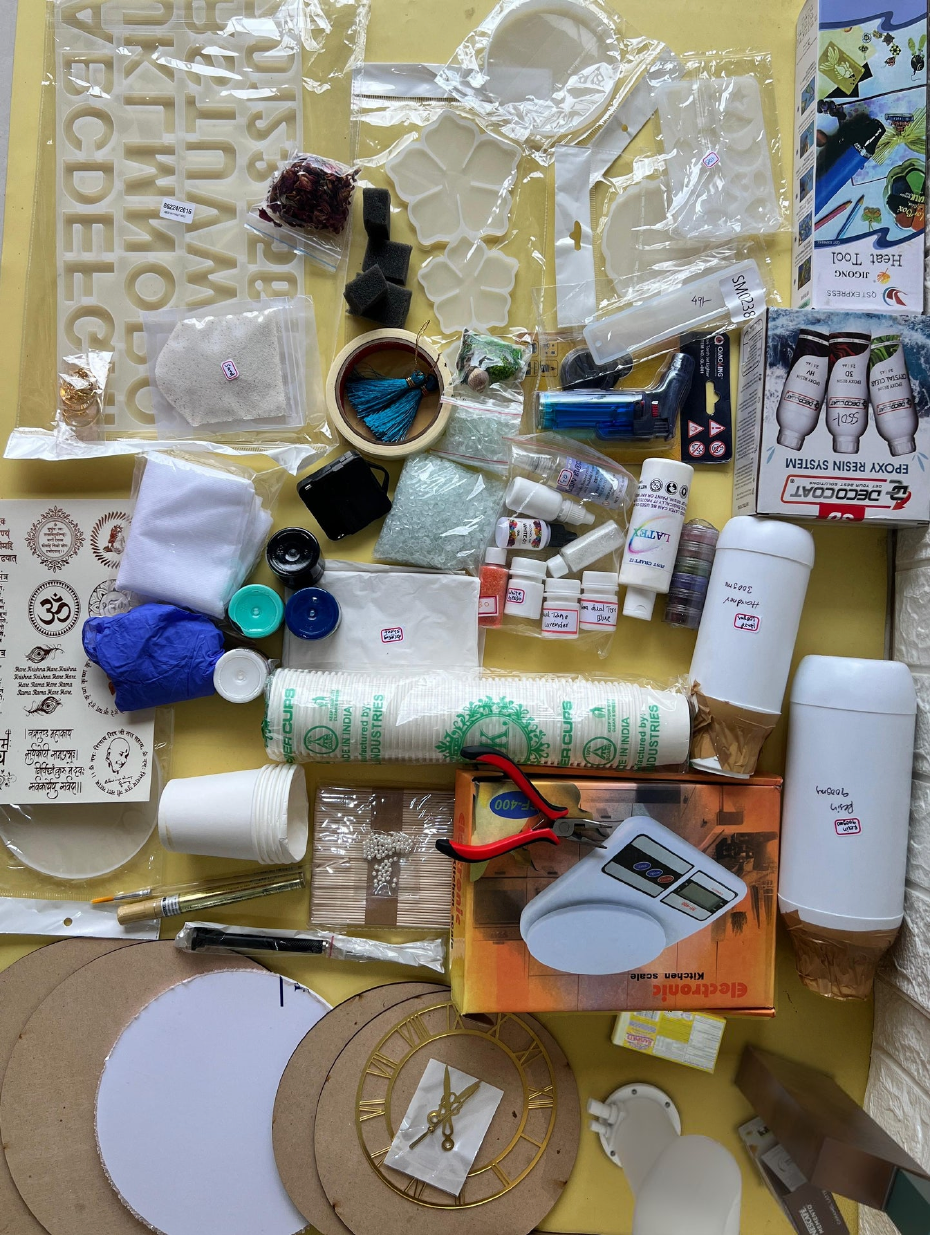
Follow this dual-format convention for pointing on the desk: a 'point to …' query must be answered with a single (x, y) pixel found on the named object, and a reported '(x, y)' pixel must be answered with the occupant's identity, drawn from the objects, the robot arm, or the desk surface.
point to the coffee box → (791, 1185)
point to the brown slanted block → (824, 1130)
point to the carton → (910, 1204)
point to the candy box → (672, 1036)
